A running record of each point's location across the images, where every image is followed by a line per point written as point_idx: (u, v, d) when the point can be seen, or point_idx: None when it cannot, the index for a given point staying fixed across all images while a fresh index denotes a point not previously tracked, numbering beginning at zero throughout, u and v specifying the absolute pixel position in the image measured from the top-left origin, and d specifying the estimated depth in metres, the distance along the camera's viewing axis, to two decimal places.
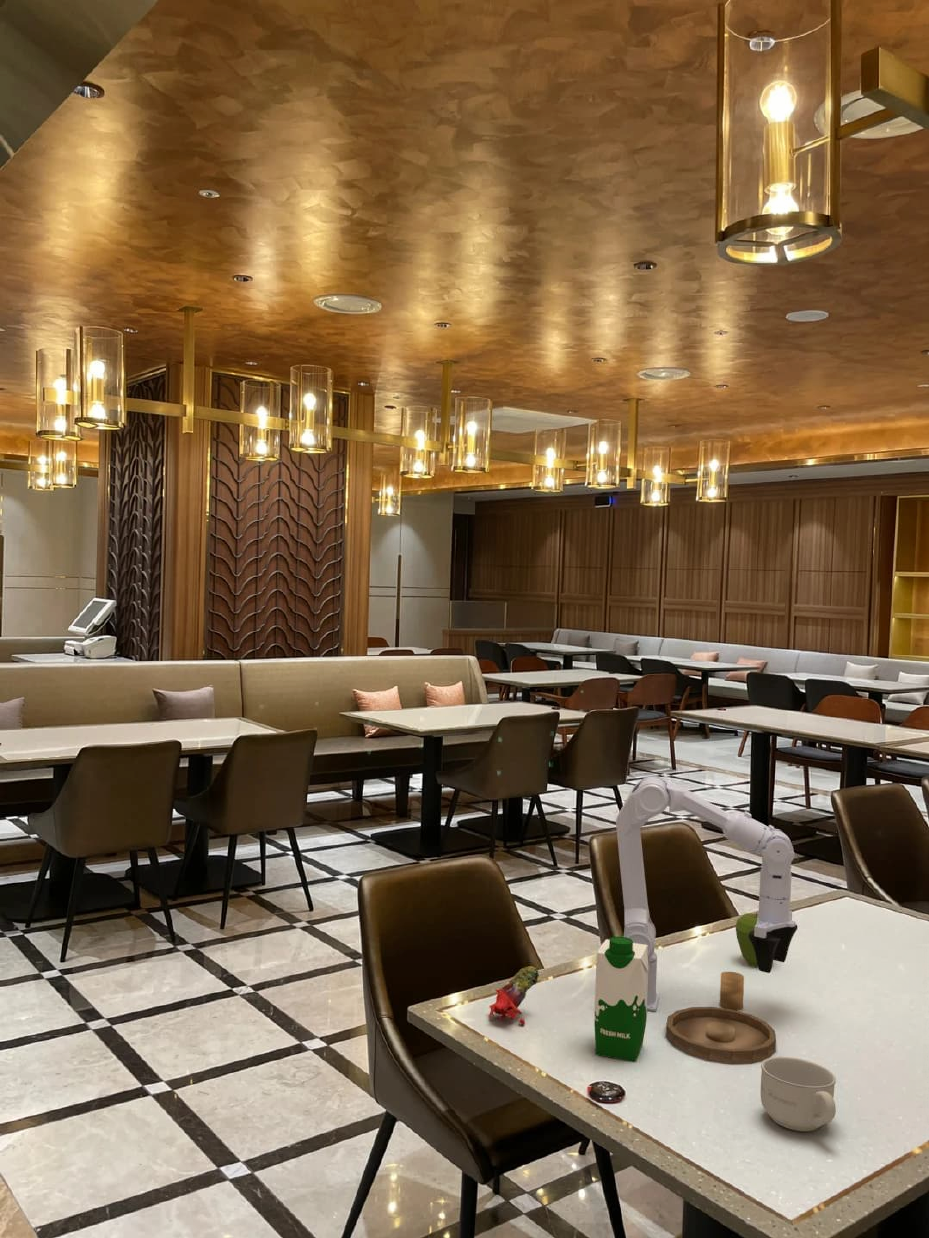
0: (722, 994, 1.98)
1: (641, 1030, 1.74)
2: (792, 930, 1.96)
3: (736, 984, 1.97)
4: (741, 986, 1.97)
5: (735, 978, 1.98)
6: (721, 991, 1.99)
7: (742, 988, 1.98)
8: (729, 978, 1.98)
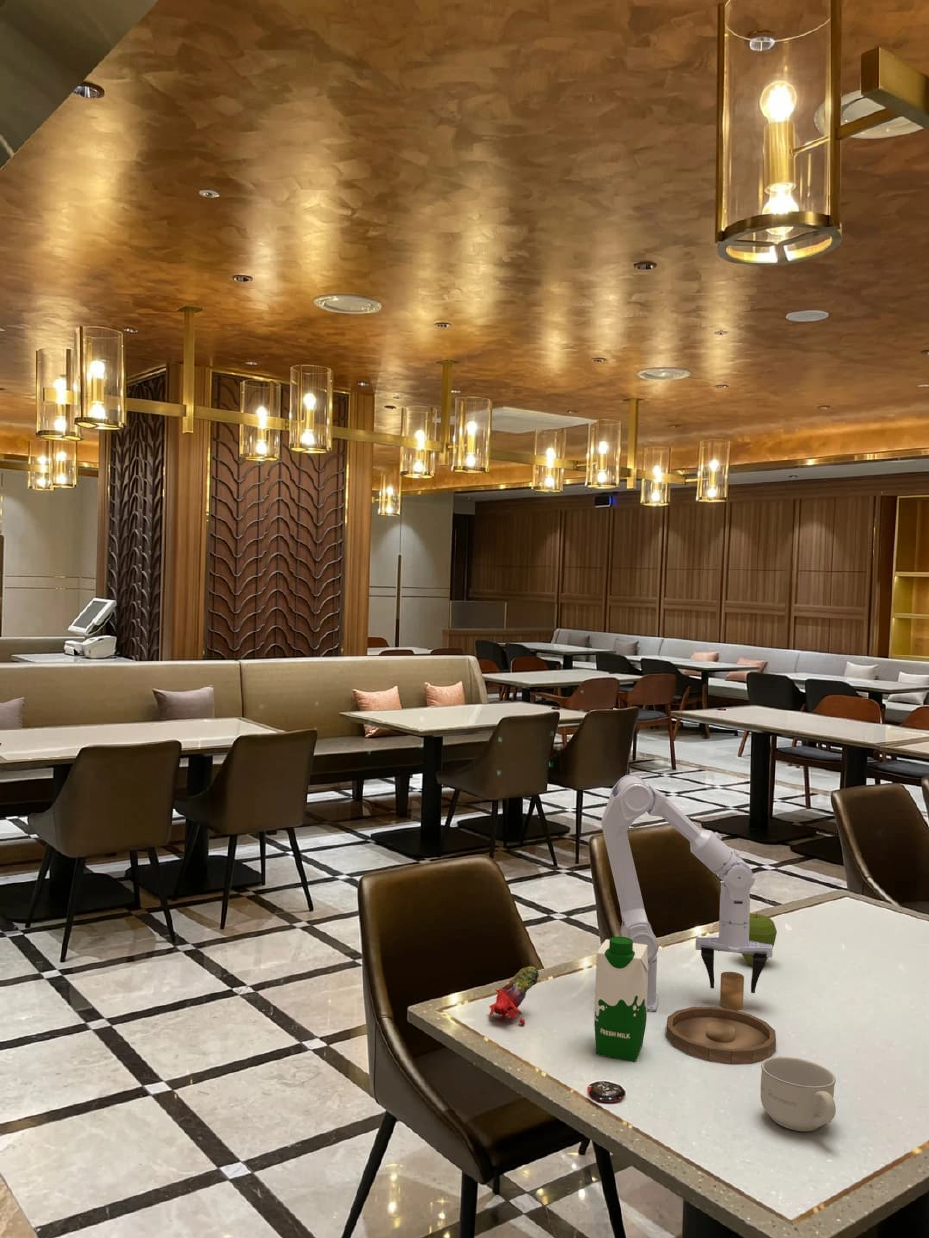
0: (722, 994, 1.98)
1: (641, 1030, 1.74)
2: (753, 962, 1.96)
3: (736, 984, 1.97)
4: (741, 986, 1.97)
5: (735, 978, 1.98)
6: (721, 991, 1.99)
7: (742, 988, 1.98)
8: (729, 978, 1.98)
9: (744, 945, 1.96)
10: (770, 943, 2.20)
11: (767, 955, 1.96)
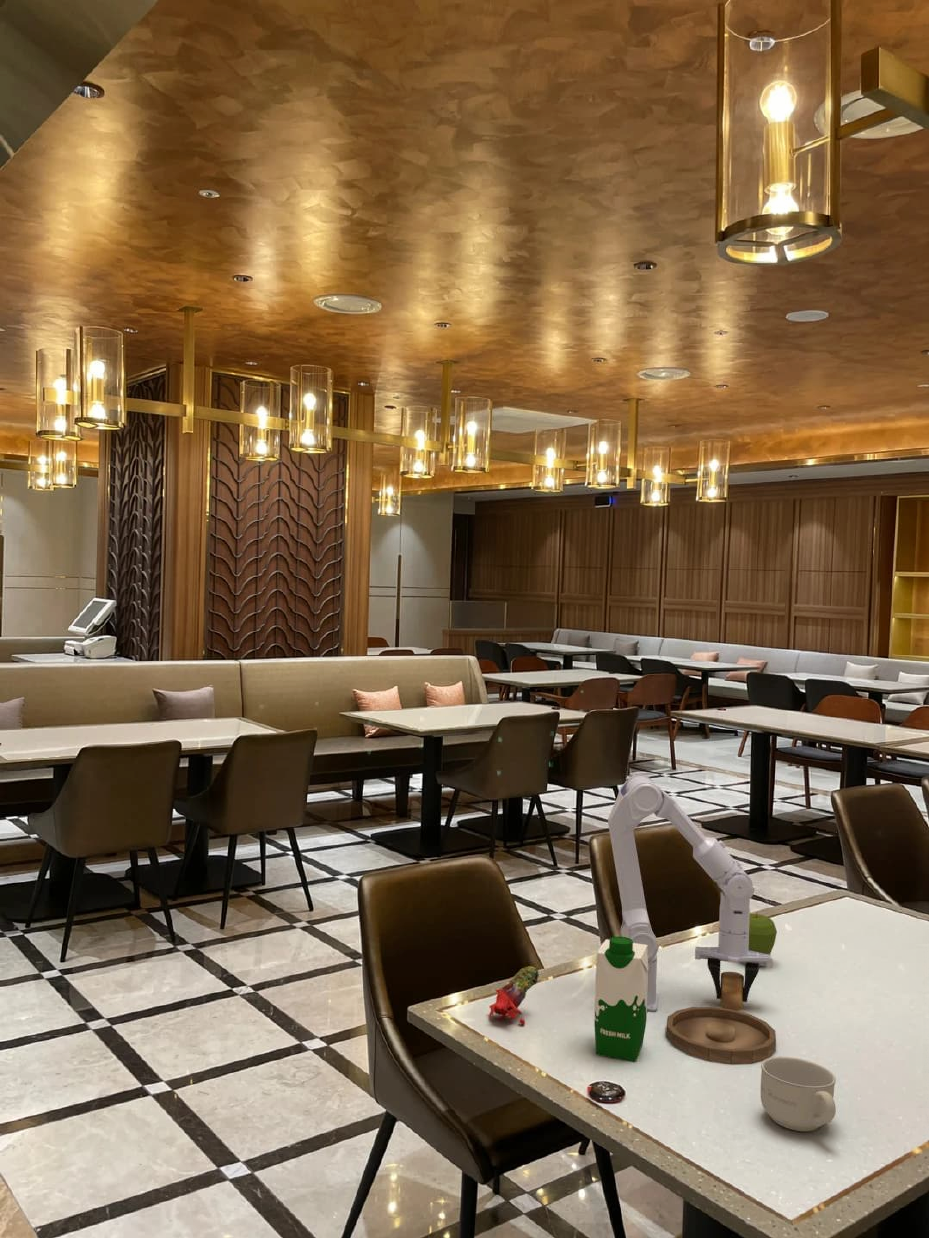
0: (722, 994, 1.98)
1: (641, 1030, 1.74)
2: (745, 971, 1.96)
3: (736, 984, 1.97)
4: (741, 986, 1.97)
5: (735, 977, 1.98)
6: (721, 991, 1.99)
7: (742, 988, 1.98)
8: (729, 978, 1.98)
9: (743, 955, 1.97)
10: (770, 943, 2.20)
11: (759, 964, 1.97)
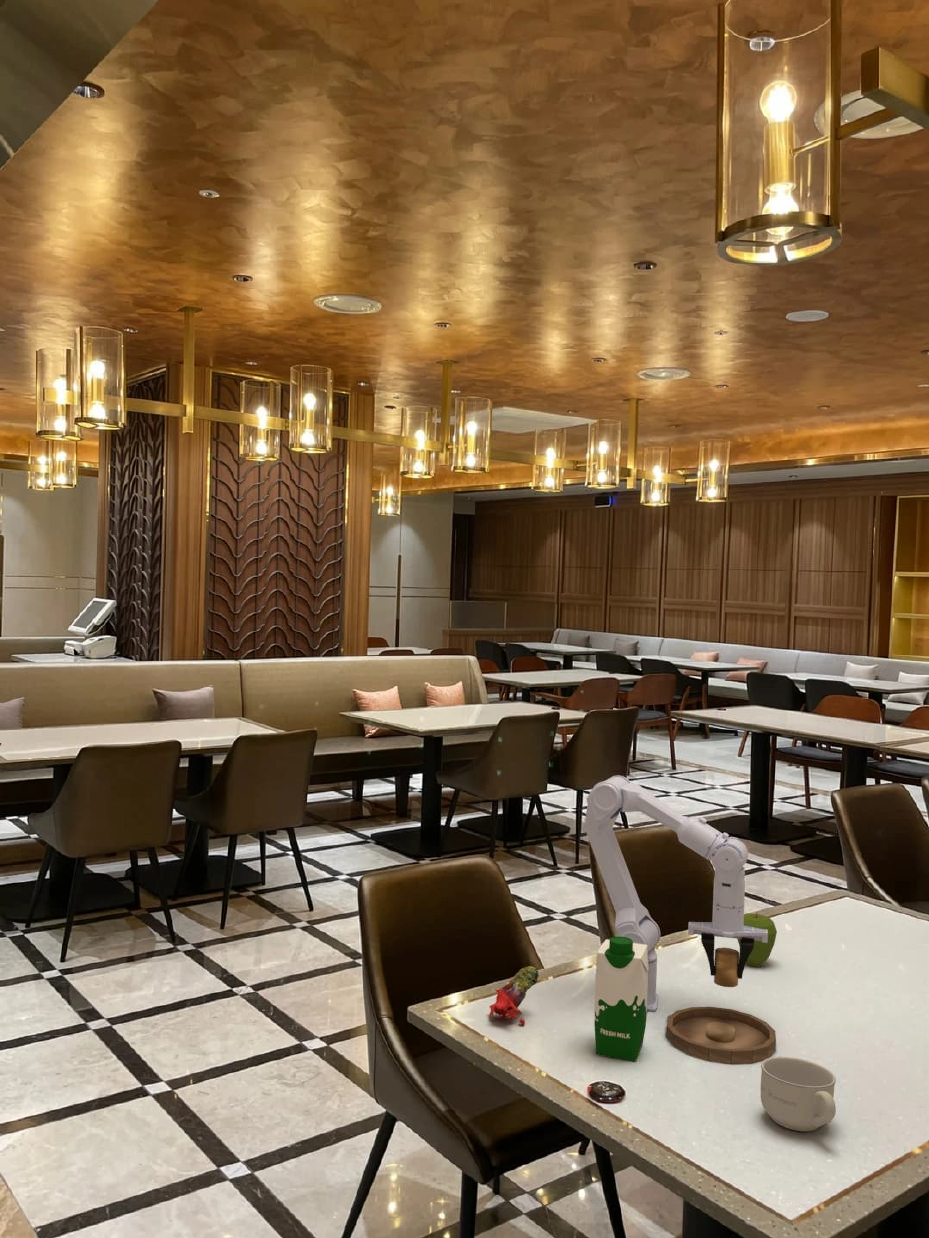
0: (716, 970, 1.92)
1: (641, 1030, 1.74)
2: (740, 946, 1.89)
3: (731, 960, 1.90)
4: (736, 962, 1.91)
5: (730, 953, 1.91)
6: (715, 967, 1.92)
7: (737, 964, 1.91)
8: (724, 953, 1.91)
9: (739, 930, 1.90)
10: (770, 943, 2.20)
11: (755, 939, 1.90)
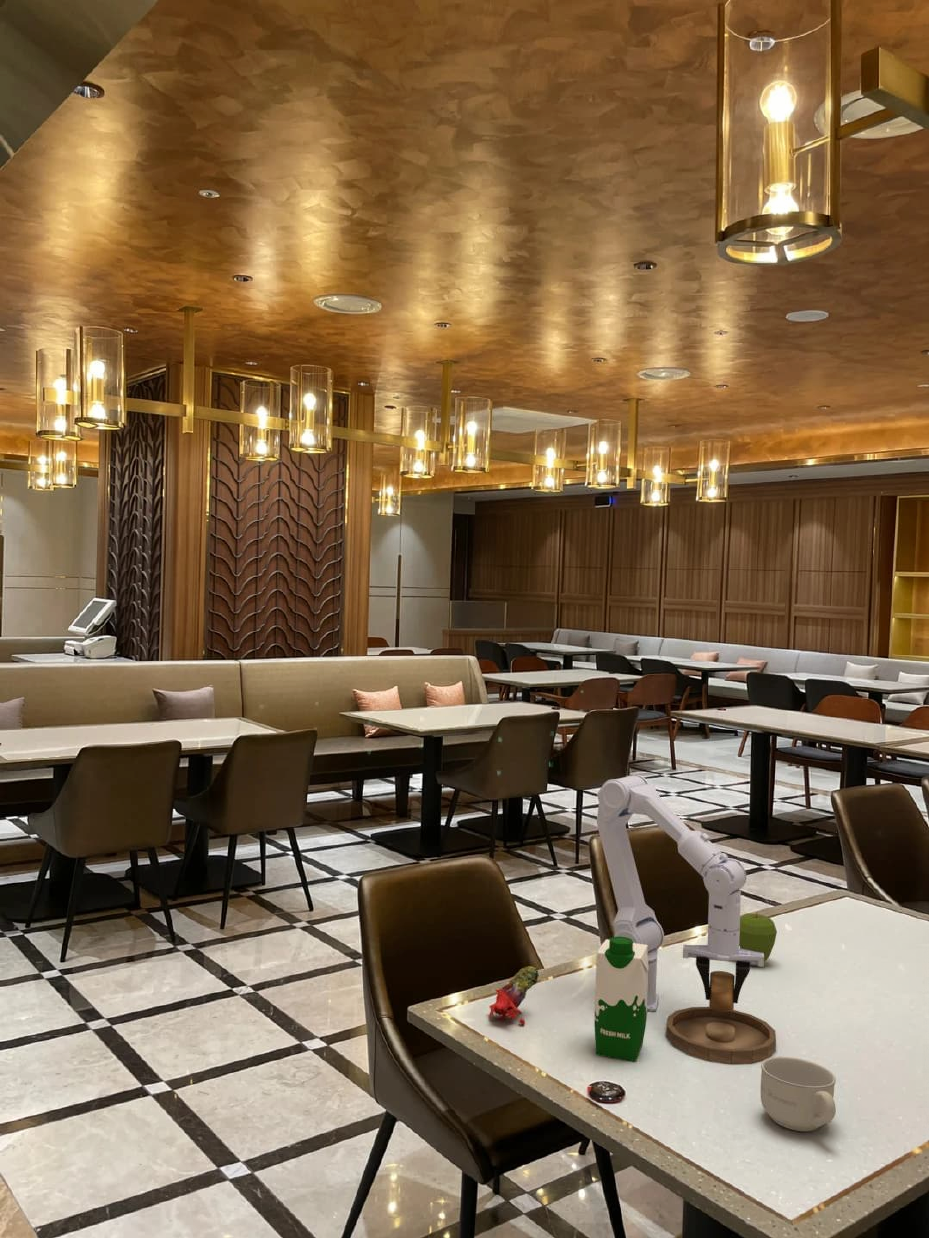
0: (711, 994, 1.88)
1: (641, 1030, 1.74)
2: (736, 970, 1.85)
3: (726, 984, 1.86)
4: (731, 986, 1.87)
5: (725, 977, 1.87)
6: (710, 991, 1.88)
7: (732, 988, 1.87)
8: (719, 977, 1.87)
9: (734, 953, 1.86)
10: (770, 943, 2.20)
11: (751, 963, 1.86)
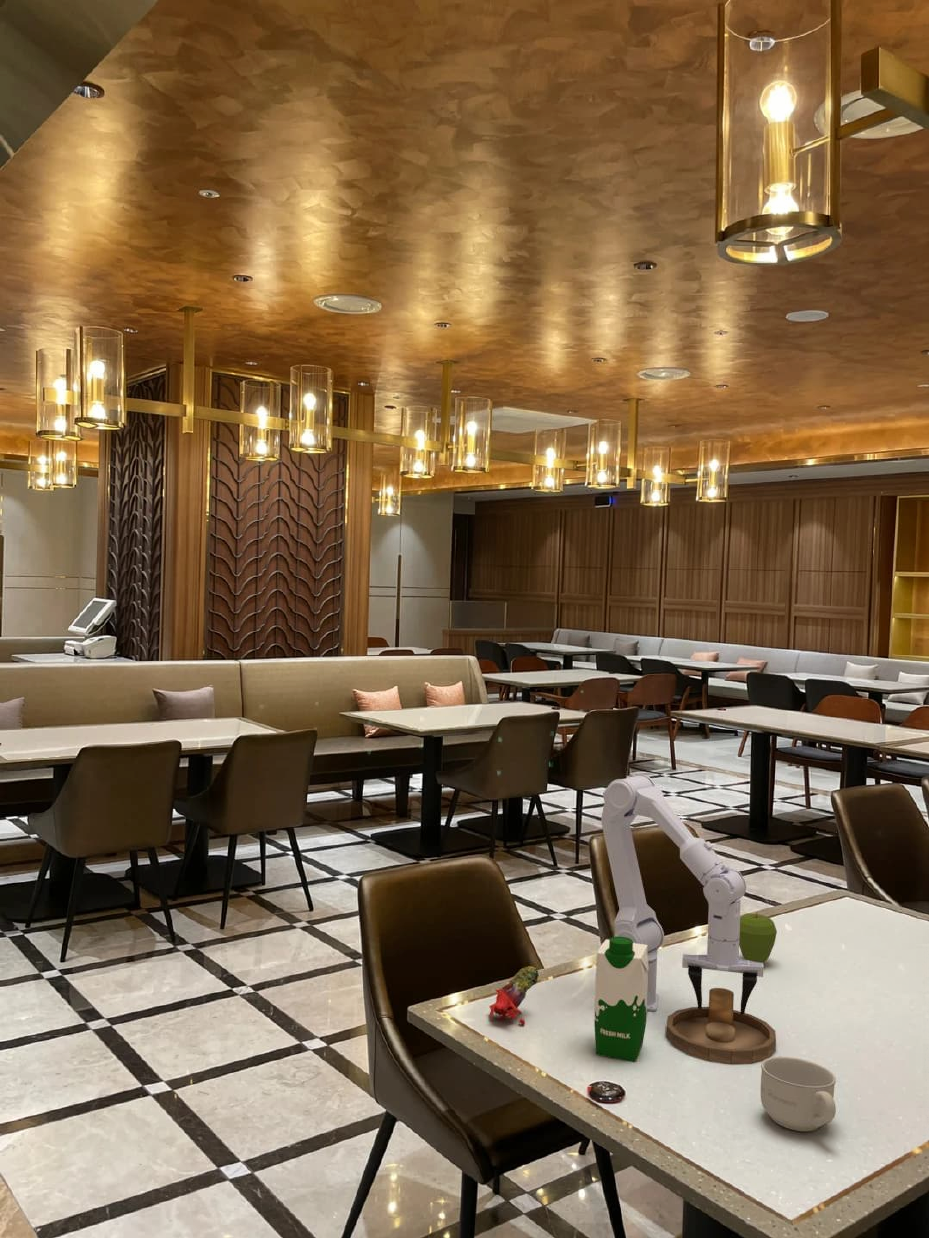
0: (710, 1012, 1.88)
1: (641, 1030, 1.74)
2: (743, 981, 1.85)
3: (725, 1001, 1.86)
4: (730, 1003, 1.87)
5: (724, 994, 1.87)
6: (709, 1008, 1.88)
7: (732, 1005, 1.87)
8: (718, 995, 1.87)
9: (733, 963, 1.86)
10: (770, 943, 2.20)
11: (758, 974, 1.86)
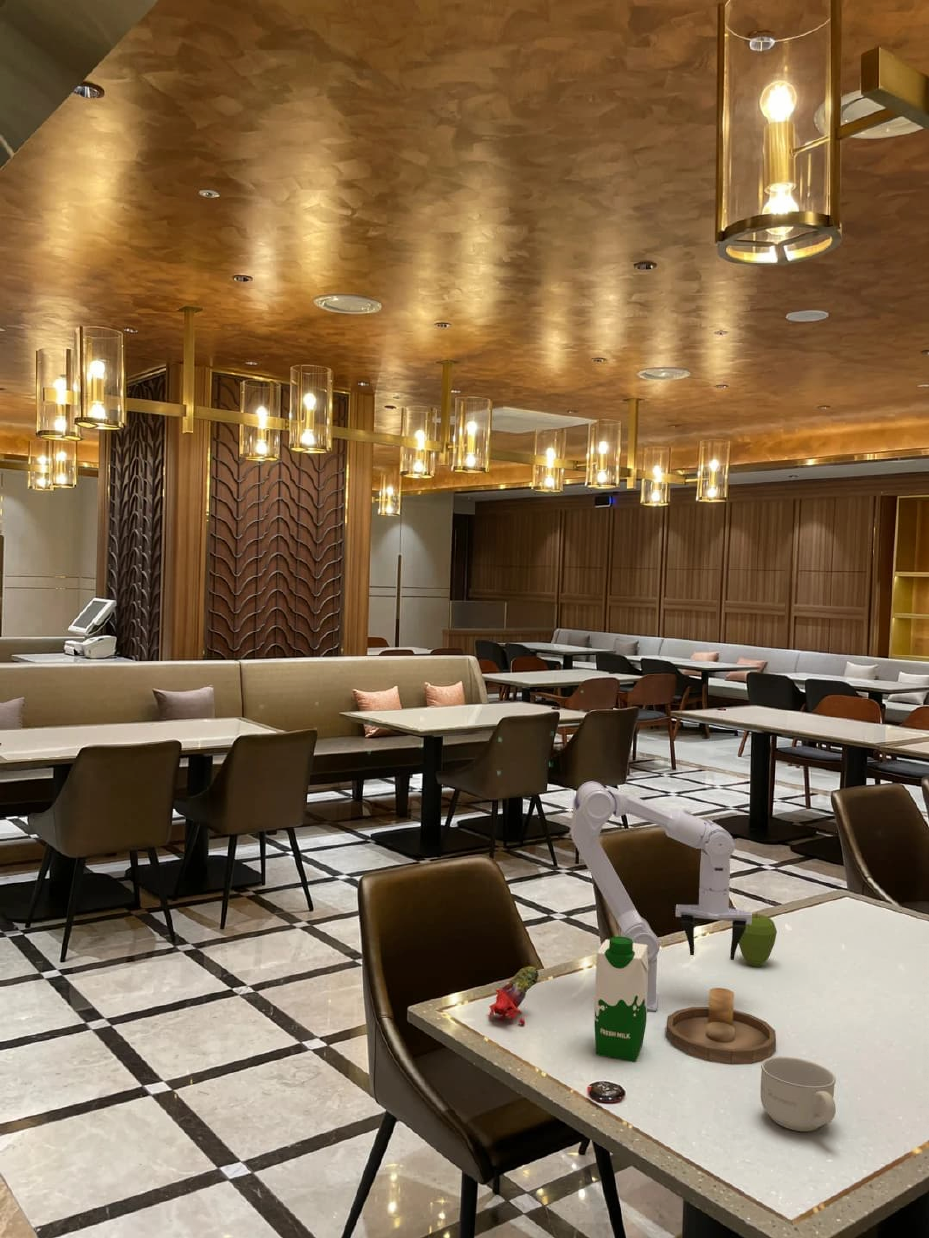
0: (710, 1012, 1.88)
1: (641, 1030, 1.74)
2: (732, 928, 1.97)
3: (725, 1001, 1.86)
4: (730, 1003, 1.87)
5: (725, 994, 1.87)
6: (710, 1008, 1.88)
7: (732, 1006, 1.87)
8: (718, 995, 1.87)
9: (724, 912, 1.97)
10: (770, 943, 2.20)
11: (746, 922, 1.97)
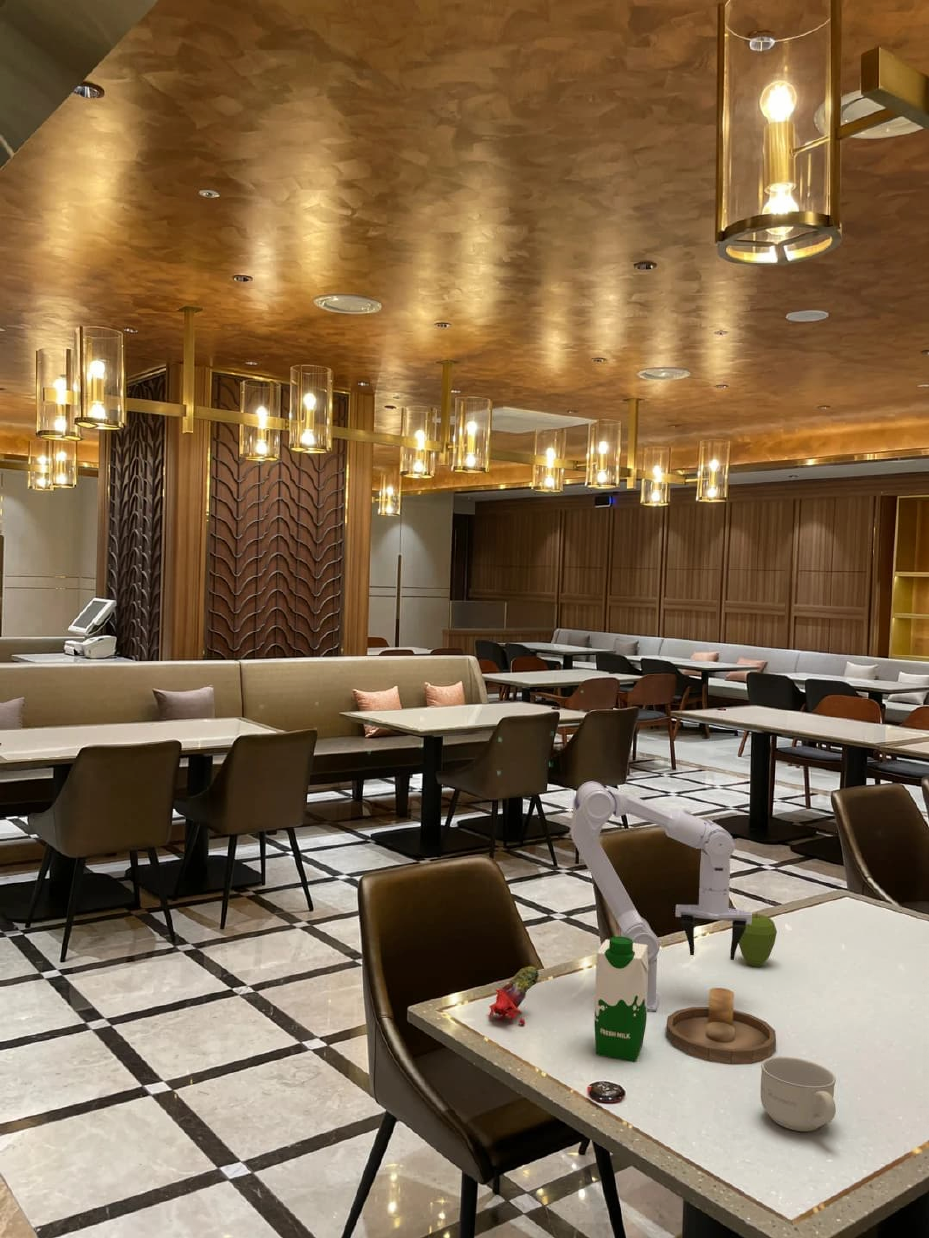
0: (710, 1012, 1.88)
1: (641, 1030, 1.74)
2: (732, 928, 1.97)
3: (725, 1001, 1.86)
4: (730, 1003, 1.87)
5: (725, 994, 1.87)
6: (709, 1008, 1.88)
7: (732, 1005, 1.87)
8: (718, 995, 1.87)
9: (724, 912, 1.97)
10: (770, 943, 2.20)
11: (746, 922, 1.97)
